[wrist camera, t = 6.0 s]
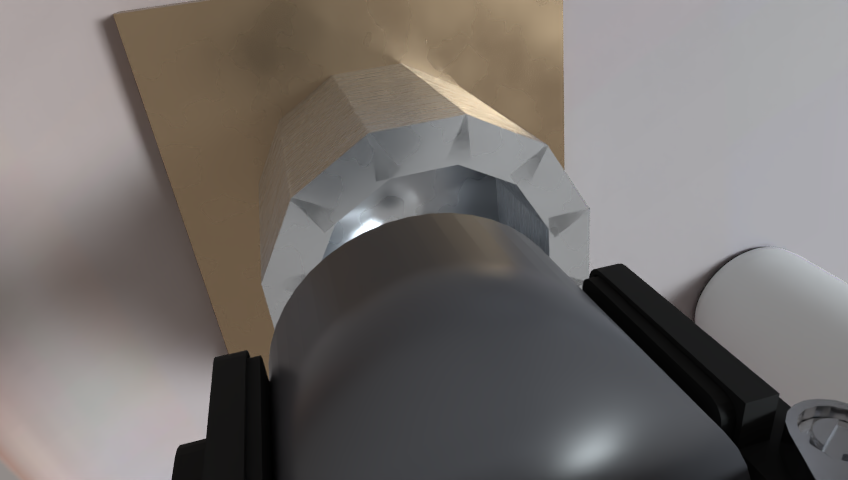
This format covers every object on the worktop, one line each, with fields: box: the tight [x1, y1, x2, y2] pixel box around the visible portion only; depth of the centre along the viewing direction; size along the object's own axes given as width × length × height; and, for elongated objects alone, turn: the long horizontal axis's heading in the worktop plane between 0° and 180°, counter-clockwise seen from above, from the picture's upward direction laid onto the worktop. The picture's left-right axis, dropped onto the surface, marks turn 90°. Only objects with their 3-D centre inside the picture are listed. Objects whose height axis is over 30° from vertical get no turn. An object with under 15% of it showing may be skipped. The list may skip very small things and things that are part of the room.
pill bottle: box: [695, 247, 848, 407], centre depth 32 cm, size 8×8×15 cm
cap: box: [269, 213, 751, 480], centre depth 9 cm, size 6×6×5 cm
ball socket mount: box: [113, 0, 590, 379], centre depth 24 cm, size 18×18×10 cm
